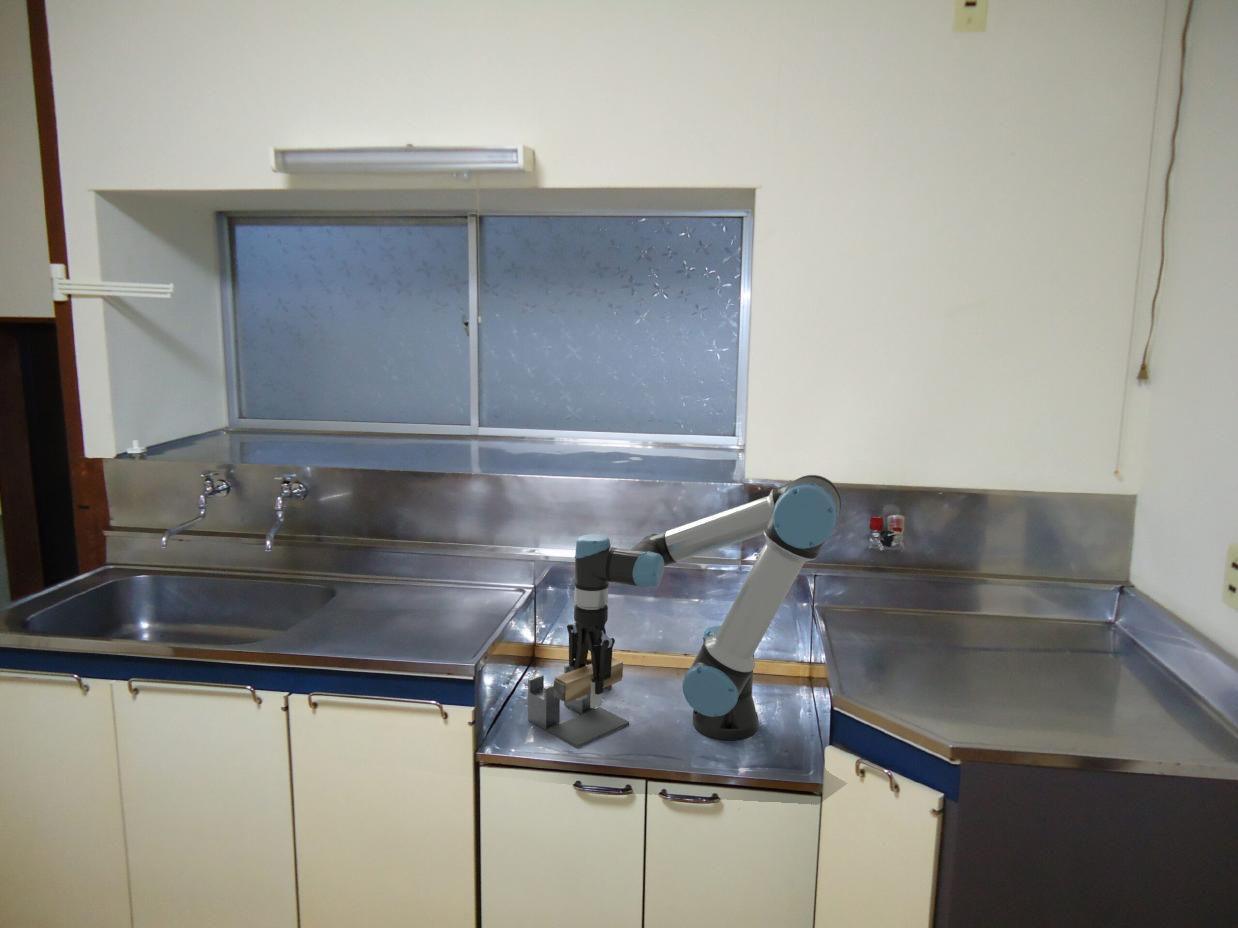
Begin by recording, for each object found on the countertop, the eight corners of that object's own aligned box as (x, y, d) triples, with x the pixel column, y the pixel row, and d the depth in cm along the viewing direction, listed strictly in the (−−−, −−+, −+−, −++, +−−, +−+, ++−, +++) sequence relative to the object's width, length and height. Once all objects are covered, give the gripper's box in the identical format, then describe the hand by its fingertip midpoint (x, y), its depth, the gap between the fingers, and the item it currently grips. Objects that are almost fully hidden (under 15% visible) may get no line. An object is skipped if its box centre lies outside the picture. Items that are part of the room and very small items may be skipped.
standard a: (594, 709, 194) (595, 669, 193) (582, 714, 192) (582, 674, 190) (576, 699, 199) (576, 661, 197) (563, 704, 196) (564, 665, 194)
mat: (629, 723, 187) (629, 721, 187) (577, 747, 176) (577, 745, 176) (599, 708, 194) (599, 706, 194) (547, 731, 183) (548, 728, 183)
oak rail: (623, 679, 189) (624, 661, 188) (564, 703, 176) (564, 683, 175) (611, 674, 192) (612, 656, 191) (552, 697, 179) (552, 677, 178)
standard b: (559, 724, 187) (559, 683, 185) (546, 729, 184) (546, 688, 182) (541, 714, 191) (541, 674, 190) (527, 719, 188) (528, 679, 187)
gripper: (630, 610, 177) (626, 710, 181) (578, 590, 189) (576, 684, 193) (605, 618, 172) (602, 721, 176) (553, 597, 184) (551, 694, 188)
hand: (588, 701), depth 184 cm, fingers closed on oak rail, 4 cm apart
